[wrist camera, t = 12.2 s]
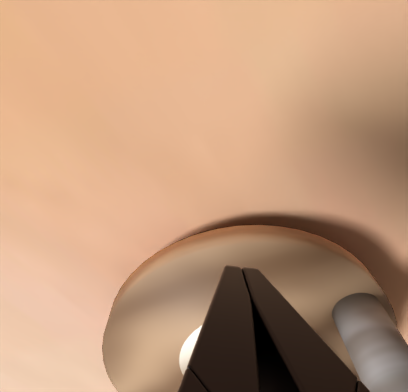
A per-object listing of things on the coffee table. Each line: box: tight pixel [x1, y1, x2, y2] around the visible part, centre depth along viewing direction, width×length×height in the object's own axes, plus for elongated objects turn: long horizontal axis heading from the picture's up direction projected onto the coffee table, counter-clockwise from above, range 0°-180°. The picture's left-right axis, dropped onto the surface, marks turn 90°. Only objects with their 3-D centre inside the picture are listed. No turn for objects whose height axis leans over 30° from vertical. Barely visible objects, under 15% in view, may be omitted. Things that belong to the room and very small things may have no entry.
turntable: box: [102, 225, 408, 392], centre depth 22 cm, size 20×20×7 cm
